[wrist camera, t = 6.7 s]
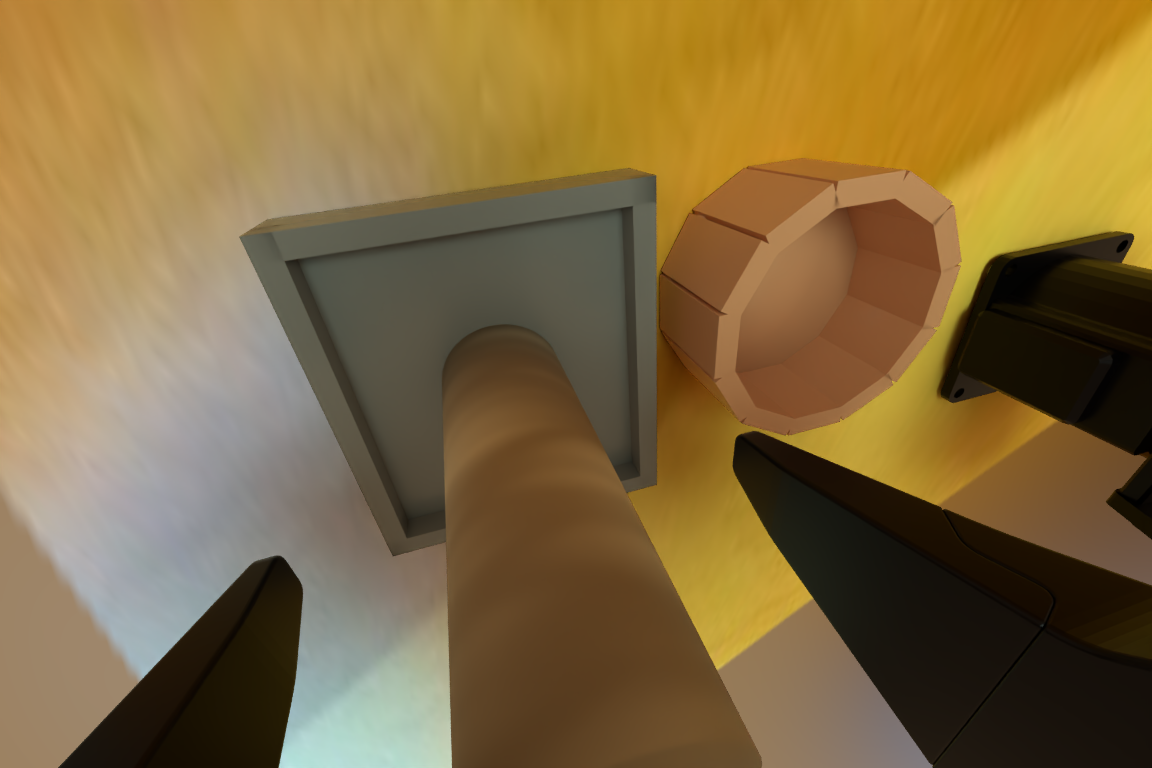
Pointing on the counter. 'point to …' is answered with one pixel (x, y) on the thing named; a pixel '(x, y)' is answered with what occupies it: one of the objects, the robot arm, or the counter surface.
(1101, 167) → the counter surface
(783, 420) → the terracotta faceted bowl
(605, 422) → the tray
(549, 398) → the pin
